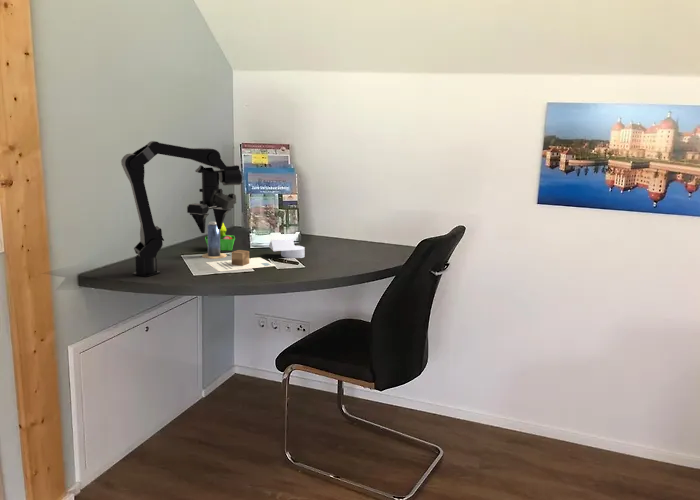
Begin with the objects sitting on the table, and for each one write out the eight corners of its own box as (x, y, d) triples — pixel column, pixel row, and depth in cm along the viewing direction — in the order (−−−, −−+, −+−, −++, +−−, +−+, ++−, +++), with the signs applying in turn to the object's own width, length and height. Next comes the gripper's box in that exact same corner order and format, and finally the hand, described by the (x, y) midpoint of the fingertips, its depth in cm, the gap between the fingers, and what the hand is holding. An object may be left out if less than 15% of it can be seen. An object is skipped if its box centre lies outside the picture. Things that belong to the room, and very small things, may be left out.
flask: (217, 256, 233) (217, 223, 230) (206, 256, 233) (205, 223, 231) (222, 254, 237) (221, 221, 235) (210, 253, 238) (210, 221, 235)
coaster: (217, 260, 230) (217, 258, 229) (197, 257, 233) (197, 256, 233) (231, 255, 238) (231, 254, 237) (211, 253, 241) (211, 251, 241)
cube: (242, 265, 221) (242, 253, 220) (231, 264, 222) (231, 252, 222) (249, 263, 225) (249, 251, 224) (238, 262, 227) (238, 249, 226)
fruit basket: (205, 252, 243) (204, 223, 241) (205, 247, 251) (204, 219, 249) (235, 251, 246) (235, 223, 243) (234, 247, 254) (234, 219, 252)
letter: (219, 272, 212) (219, 271, 212) (205, 263, 225) (205, 262, 225) (276, 266, 223) (276, 265, 223) (260, 258, 235) (260, 257, 235)
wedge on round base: (273, 259, 233) (307, 258, 238) (273, 242, 232) (307, 240, 236) (268, 254, 242) (301, 253, 246) (268, 237, 240) (301, 236, 245)
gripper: (213, 190, 201) (214, 237, 204) (246, 185, 217) (246, 229, 220) (185, 187, 205) (186, 234, 208) (219, 183, 222) (220, 226, 225)
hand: (211, 231), depth 215 cm, fingers open, 9 cm apart
